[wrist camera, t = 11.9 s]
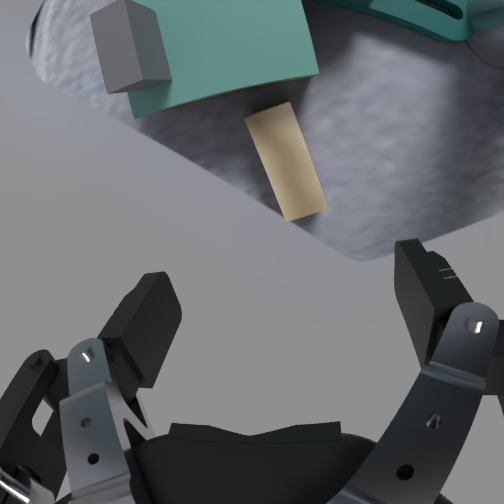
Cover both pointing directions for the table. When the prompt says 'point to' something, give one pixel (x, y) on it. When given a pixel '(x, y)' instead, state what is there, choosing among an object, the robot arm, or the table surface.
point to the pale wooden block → (287, 161)
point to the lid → (199, 48)
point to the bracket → (418, 16)
